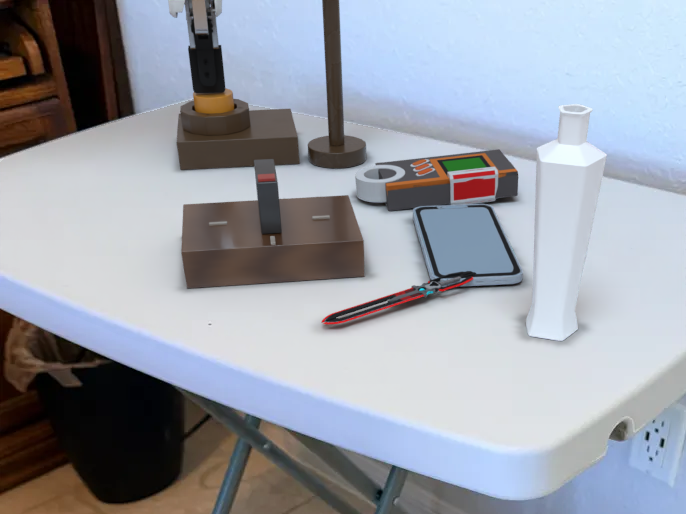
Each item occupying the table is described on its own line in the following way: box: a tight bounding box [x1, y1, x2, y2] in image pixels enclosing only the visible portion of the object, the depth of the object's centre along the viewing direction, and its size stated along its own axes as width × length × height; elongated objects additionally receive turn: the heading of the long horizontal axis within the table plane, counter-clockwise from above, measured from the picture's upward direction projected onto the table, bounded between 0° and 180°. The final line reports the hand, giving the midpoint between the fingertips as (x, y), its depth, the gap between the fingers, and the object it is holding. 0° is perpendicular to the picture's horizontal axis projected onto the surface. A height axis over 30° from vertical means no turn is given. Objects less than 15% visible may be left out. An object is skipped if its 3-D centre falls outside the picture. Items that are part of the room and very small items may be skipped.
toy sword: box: [321, 271, 476, 325], centre depth 70 cm, size 2×14×1 cm, turn 124°
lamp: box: [307, 0, 367, 169], centre depth 88 cm, size 8×8×26 cm
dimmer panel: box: [180, 194, 366, 289], centre depth 76 cm, size 14×10×3 cm
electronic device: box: [354, 149, 519, 212], centre depth 87 cm, size 7×3×15 cm
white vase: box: [525, 103, 608, 342], centre depth 62 cm, size 5×4×15 cm
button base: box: [176, 98, 301, 171], centre depth 96 cm, size 12×10×4 cm
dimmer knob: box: [253, 159, 282, 234], centre depth 74 cm, size 6×2×4 cm, turn 9°
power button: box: [192, 87, 235, 114], centre depth 94 cm, size 4×4×2 cm
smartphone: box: [412, 203, 524, 287], centre depth 78 cm, size 7×1×15 cm
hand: (209, 90), depth 93 cm, fingers closed
